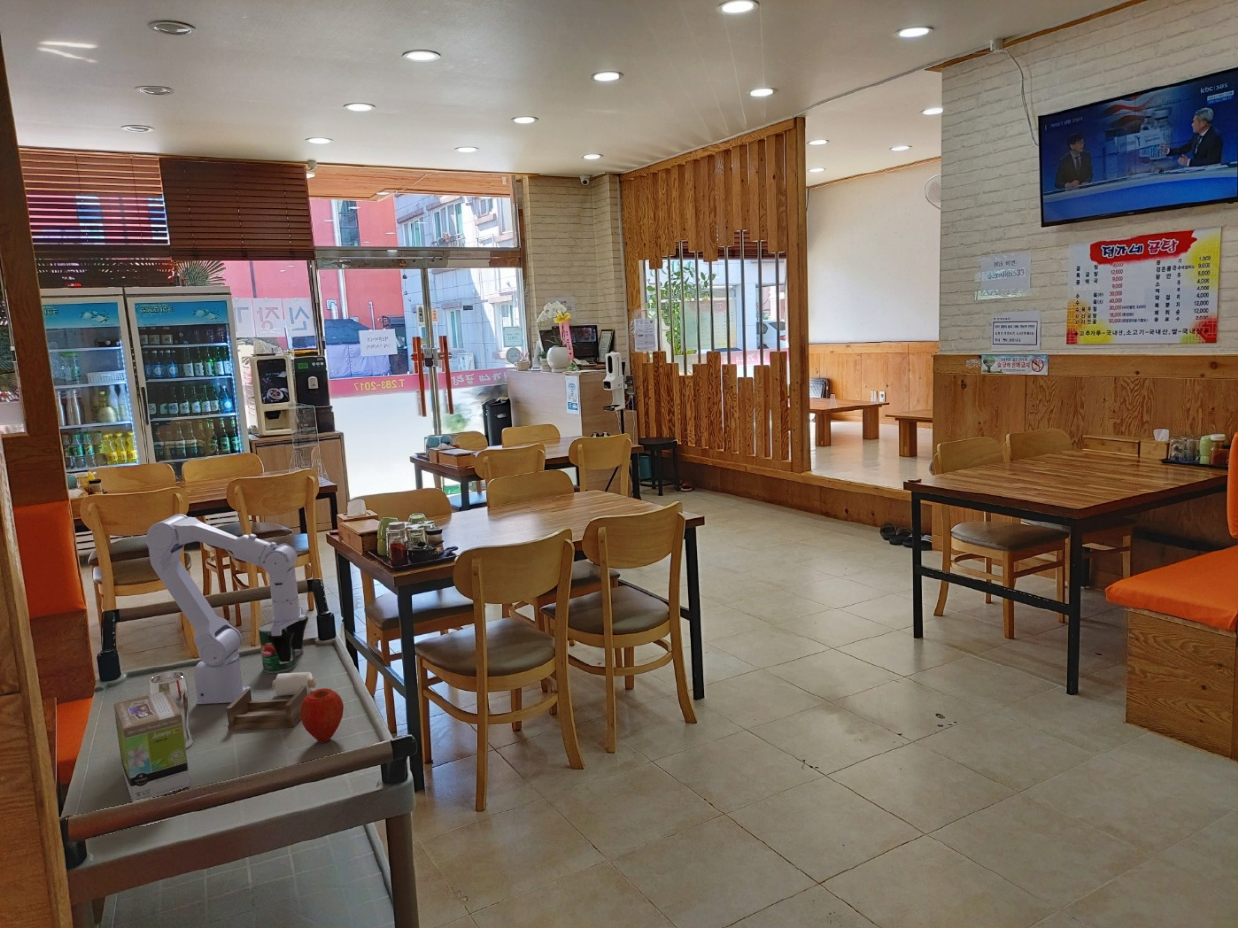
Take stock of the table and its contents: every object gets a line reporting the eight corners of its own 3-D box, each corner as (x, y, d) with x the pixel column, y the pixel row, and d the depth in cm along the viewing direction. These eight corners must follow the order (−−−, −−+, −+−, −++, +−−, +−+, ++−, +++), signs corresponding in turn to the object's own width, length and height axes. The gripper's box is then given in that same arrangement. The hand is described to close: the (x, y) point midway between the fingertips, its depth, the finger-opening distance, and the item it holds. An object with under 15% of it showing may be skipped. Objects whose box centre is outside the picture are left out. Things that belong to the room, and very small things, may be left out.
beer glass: (203, 739, 183) (194, 671, 181) (176, 755, 177) (166, 685, 174) (177, 736, 186) (167, 668, 183) (150, 751, 179) (139, 682, 177)
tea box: (192, 787, 164) (182, 712, 162) (132, 806, 158) (120, 729, 156) (178, 757, 176) (169, 687, 174) (122, 773, 171) (111, 702, 168)
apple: (350, 743, 178) (345, 692, 177) (307, 754, 174) (301, 703, 173) (342, 727, 186) (337, 678, 184) (300, 737, 182) (294, 688, 180)
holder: (228, 730, 187) (225, 708, 186) (247, 709, 197) (244, 688, 196) (293, 726, 187) (291, 704, 186) (309, 706, 197) (307, 685, 196)
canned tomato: (256, 672, 219) (251, 630, 217) (275, 660, 226) (270, 619, 225) (284, 673, 217) (279, 631, 215) (302, 661, 224) (298, 620, 223)
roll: (271, 700, 202) (268, 680, 201) (279, 688, 207) (276, 669, 206) (312, 697, 202) (309, 678, 201) (319, 686, 207) (316, 667, 206)
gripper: (291, 607, 194) (297, 666, 196) (313, 588, 208) (318, 642, 210) (259, 609, 194) (266, 667, 196) (283, 589, 208) (289, 644, 210)
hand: (291, 654), depth 203 cm, fingers open, 7 cm apart
